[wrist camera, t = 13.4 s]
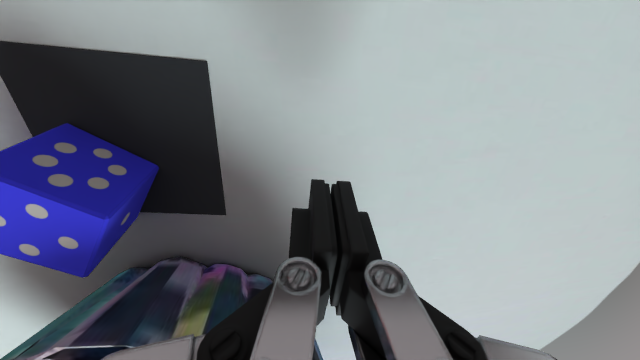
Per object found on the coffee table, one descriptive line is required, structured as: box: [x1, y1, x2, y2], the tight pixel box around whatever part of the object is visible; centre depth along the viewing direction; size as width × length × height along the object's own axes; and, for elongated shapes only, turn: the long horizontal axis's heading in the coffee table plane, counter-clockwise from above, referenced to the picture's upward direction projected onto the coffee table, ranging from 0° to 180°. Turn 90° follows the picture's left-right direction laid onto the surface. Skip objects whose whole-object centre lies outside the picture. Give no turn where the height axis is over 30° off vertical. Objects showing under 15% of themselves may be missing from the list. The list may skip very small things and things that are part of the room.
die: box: [0, 123, 159, 278], centre depth 14 cm, size 5×5×5 cm
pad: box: [0, 41, 226, 215], centre depth 15 cm, size 10×10×1 cm
